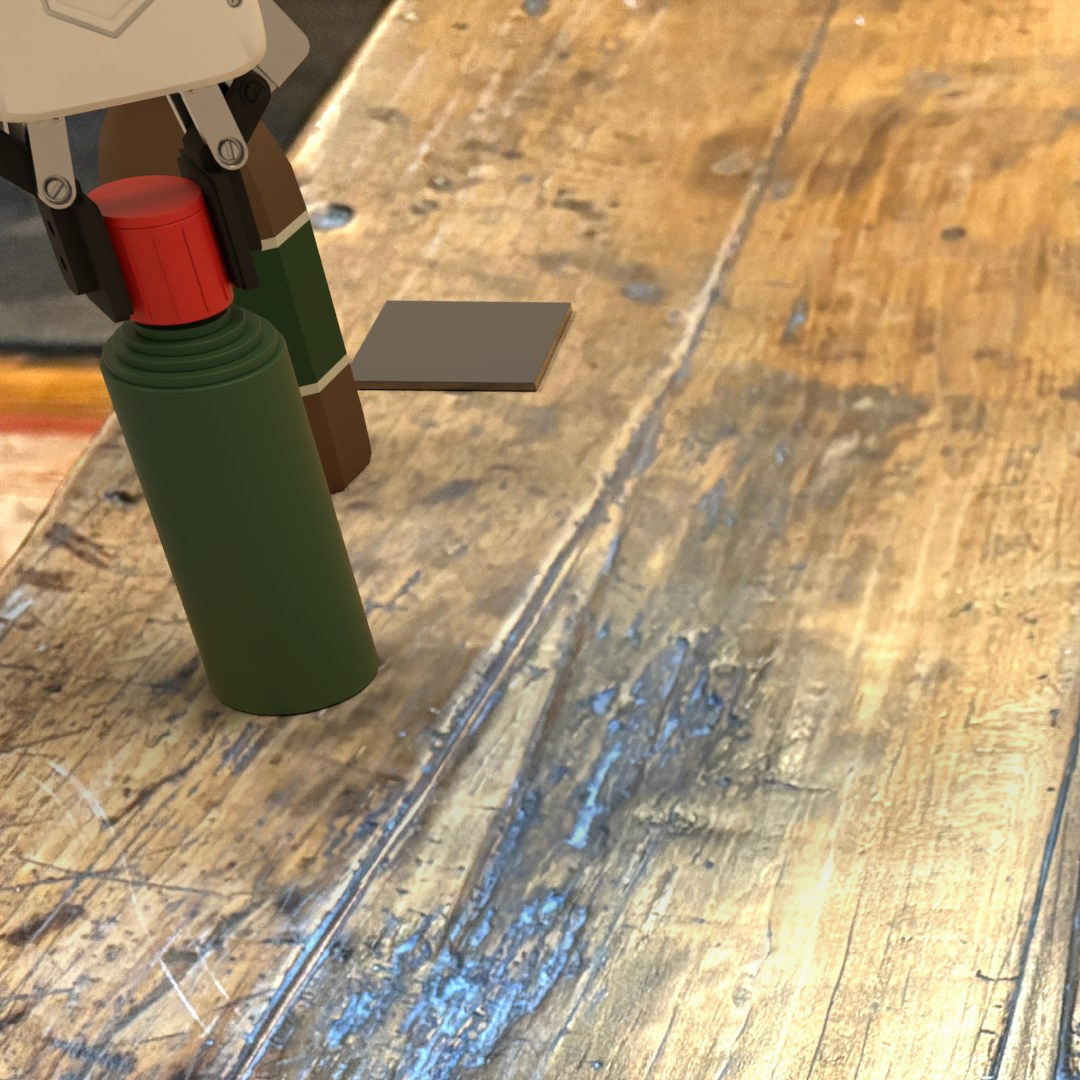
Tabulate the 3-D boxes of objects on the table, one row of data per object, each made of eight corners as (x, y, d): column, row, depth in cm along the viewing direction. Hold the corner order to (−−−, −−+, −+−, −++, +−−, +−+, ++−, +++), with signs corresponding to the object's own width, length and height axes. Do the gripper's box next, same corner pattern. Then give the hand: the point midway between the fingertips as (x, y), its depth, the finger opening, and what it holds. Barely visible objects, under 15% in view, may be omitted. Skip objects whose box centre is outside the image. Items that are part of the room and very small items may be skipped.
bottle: (191, 715, 99) (22, 246, 86) (237, 631, 103) (83, 173, 90) (357, 716, 99) (214, 249, 86) (396, 632, 104) (265, 176, 91)
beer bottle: (292, 413, 117) (115, -180, 100) (413, 457, 114) (254, -144, 97) (155, 479, 112) (-55, -131, 95) (279, 526, 110) (86, -93, 92)
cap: (142, 335, 89) (106, 227, 86) (102, 297, 91) (66, 190, 88) (251, 308, 91) (219, 201, 88) (209, 271, 93) (177, 166, 90)
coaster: (342, 389, 119) (340, 380, 118) (388, 308, 125) (386, 300, 125) (536, 391, 119) (534, 382, 119) (572, 310, 125) (571, 302, 125)
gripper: (-279, -243, 71) (-31, 392, 85) (294, -323, 79) (439, 272, 92) (-351, -301, 75) (-103, 314, 89) (201, -371, 83) (354, 205, 96)
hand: (172, 287), depth 90 cm, fingers closed on cap, 3 cm apart
